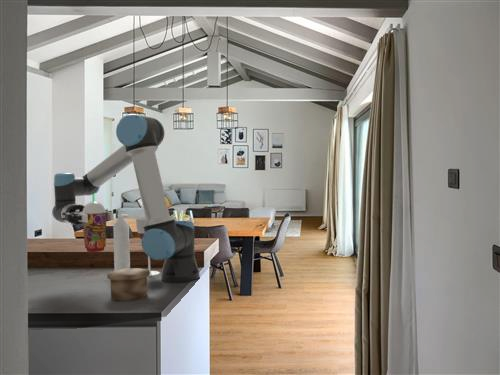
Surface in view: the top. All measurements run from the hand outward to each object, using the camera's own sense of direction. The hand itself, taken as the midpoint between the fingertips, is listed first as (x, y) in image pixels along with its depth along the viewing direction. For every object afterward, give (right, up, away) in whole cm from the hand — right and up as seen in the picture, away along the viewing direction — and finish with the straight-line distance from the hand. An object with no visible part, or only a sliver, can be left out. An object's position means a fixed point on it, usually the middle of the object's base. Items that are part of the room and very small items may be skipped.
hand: (99, 217), depth 152 cm
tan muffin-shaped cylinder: (+10, -27, +1) cm, 29 cm away
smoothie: (-3, -12, +4) cm, 13 cm away
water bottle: (-2, -26, +36) cm, 45 cm away
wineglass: (+9, -26, +35) cm, 45 cm away
